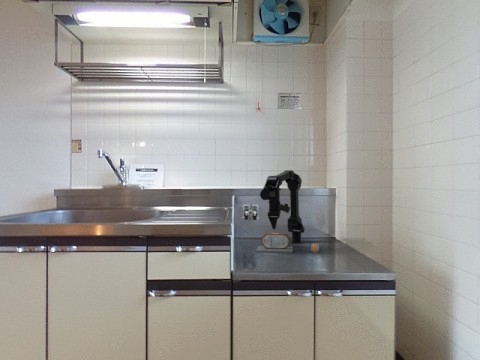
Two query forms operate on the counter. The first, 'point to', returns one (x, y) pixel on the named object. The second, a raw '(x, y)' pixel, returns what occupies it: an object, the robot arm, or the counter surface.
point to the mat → (274, 250)
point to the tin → (275, 240)
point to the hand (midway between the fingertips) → (274, 228)
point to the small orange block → (314, 247)
